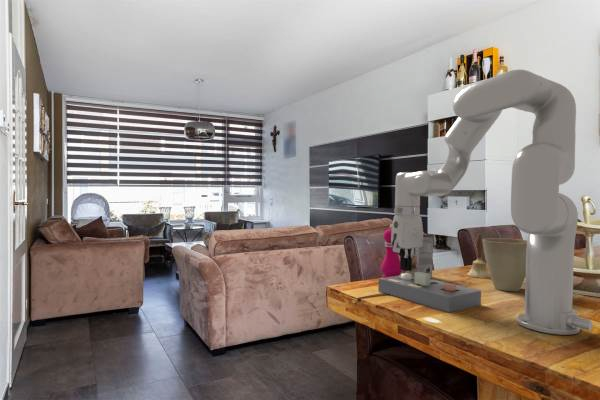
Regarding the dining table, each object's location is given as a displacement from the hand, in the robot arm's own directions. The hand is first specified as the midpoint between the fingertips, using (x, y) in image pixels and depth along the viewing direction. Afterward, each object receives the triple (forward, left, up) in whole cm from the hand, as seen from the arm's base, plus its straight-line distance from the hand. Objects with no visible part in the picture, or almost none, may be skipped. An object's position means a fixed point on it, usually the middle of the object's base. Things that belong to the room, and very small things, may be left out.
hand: (405, 269), depth 126 cm
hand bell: (+3, -43, -7) cm, 44 cm away
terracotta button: (-16, 0, -4) cm, 17 cm away
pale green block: (-8, +2, -6) cm, 10 cm away
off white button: (0, 0, -4) cm, 4 cm away
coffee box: (+14, -22, -7) cm, 27 cm away
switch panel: (-8, 0, -7) cm, 11 cm away
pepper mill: (+14, -8, -7) cm, 17 cm away
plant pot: (-14, -32, -7) cm, 36 cm away
